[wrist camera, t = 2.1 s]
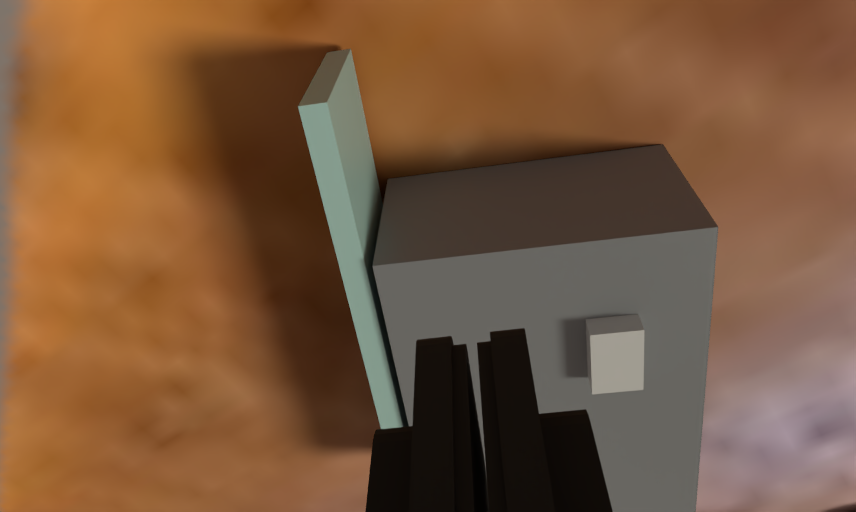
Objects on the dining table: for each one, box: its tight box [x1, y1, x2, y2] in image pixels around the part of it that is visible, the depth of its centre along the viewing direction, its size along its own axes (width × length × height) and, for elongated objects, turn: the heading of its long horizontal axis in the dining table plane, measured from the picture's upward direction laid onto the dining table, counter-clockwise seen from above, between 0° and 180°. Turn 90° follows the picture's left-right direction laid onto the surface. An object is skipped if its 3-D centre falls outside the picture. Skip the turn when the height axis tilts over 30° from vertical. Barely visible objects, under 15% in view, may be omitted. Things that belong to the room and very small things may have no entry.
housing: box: [373, 144, 718, 512], centre depth 26 cm, size 15×10×7 cm, turn 9°
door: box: [298, 49, 409, 429], centre depth 26 cm, size 19×1×5 cm, turn 9°
